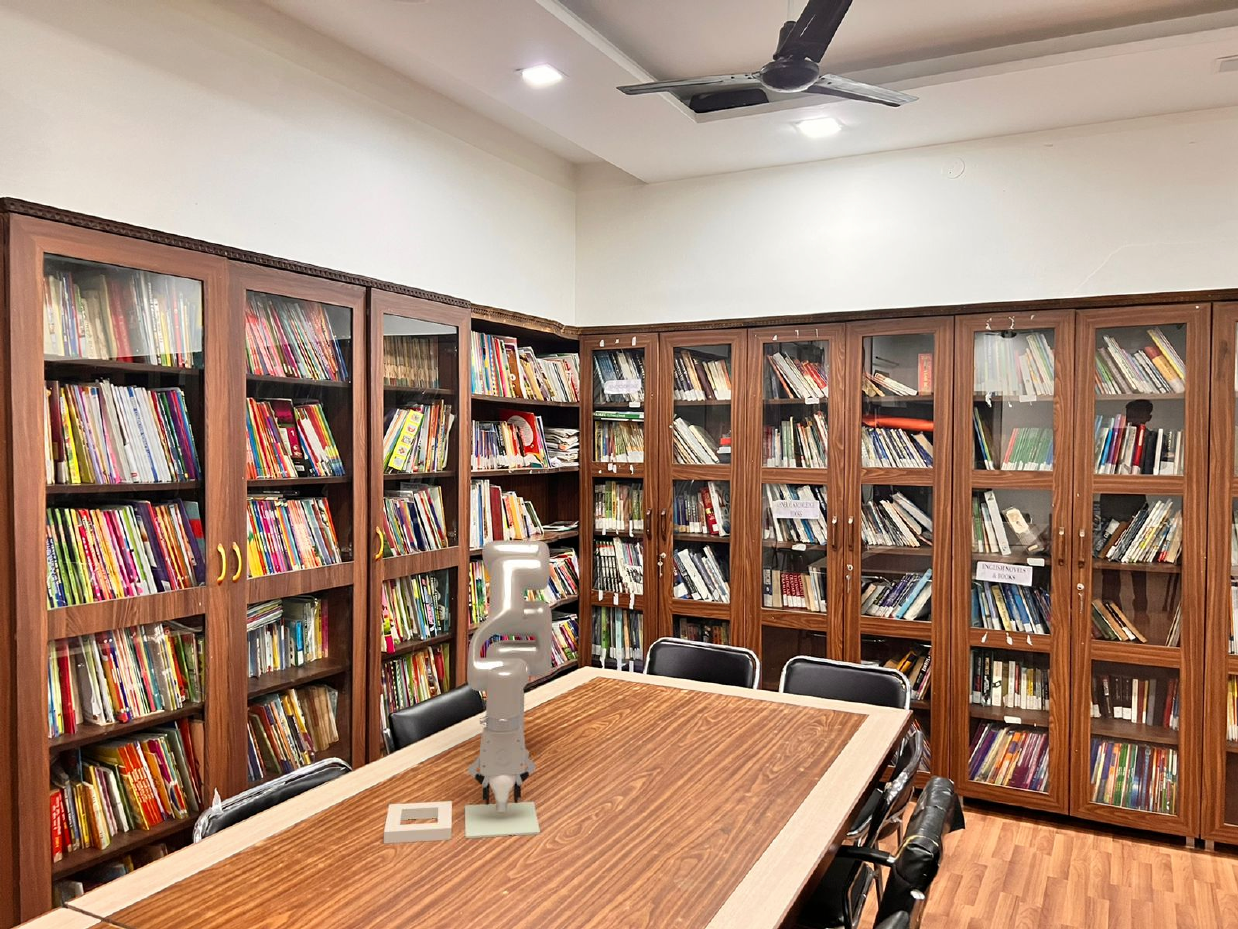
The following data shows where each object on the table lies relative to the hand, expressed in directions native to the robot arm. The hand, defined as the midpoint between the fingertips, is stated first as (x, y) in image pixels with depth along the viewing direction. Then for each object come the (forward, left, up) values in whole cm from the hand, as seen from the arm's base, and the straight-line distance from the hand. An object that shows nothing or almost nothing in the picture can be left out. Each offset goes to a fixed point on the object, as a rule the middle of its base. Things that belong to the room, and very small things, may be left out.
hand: (501, 801), depth 195 cm
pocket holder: (+1, -18, -4) cm, 19 cm away
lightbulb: (0, 0, -3) cm, 3 cm away
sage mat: (0, 0, -4) cm, 4 cm away
